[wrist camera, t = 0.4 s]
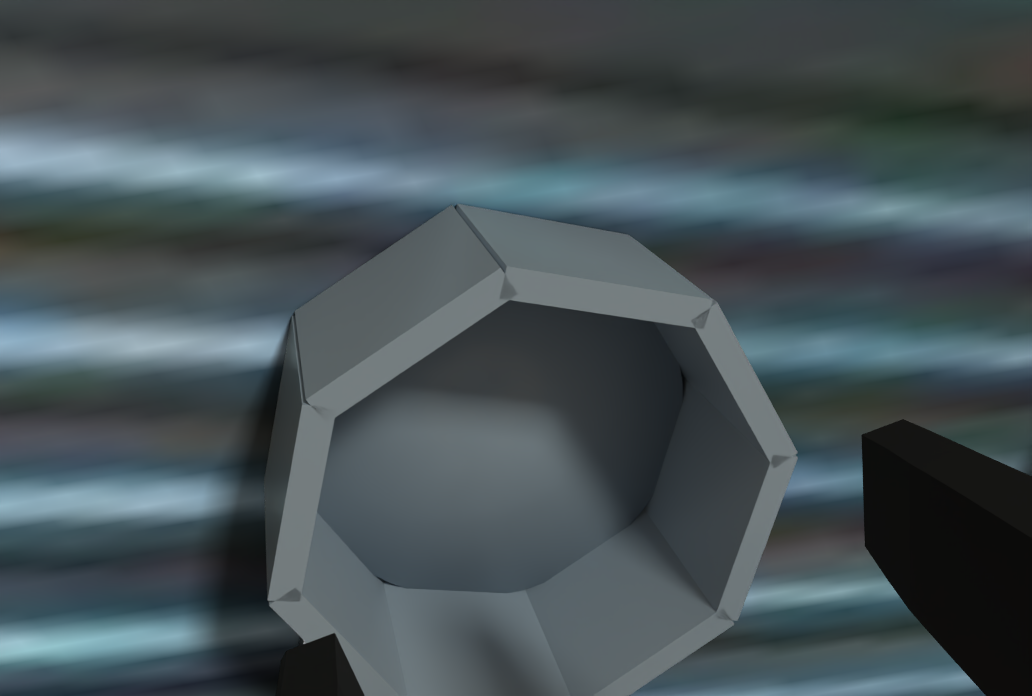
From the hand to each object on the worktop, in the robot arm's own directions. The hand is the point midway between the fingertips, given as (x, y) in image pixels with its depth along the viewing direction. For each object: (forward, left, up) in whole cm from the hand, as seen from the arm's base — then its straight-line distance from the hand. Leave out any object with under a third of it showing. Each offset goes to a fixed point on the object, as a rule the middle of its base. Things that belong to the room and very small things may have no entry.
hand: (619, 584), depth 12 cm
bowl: (-3, -1, -10) cm, 11 cm away
